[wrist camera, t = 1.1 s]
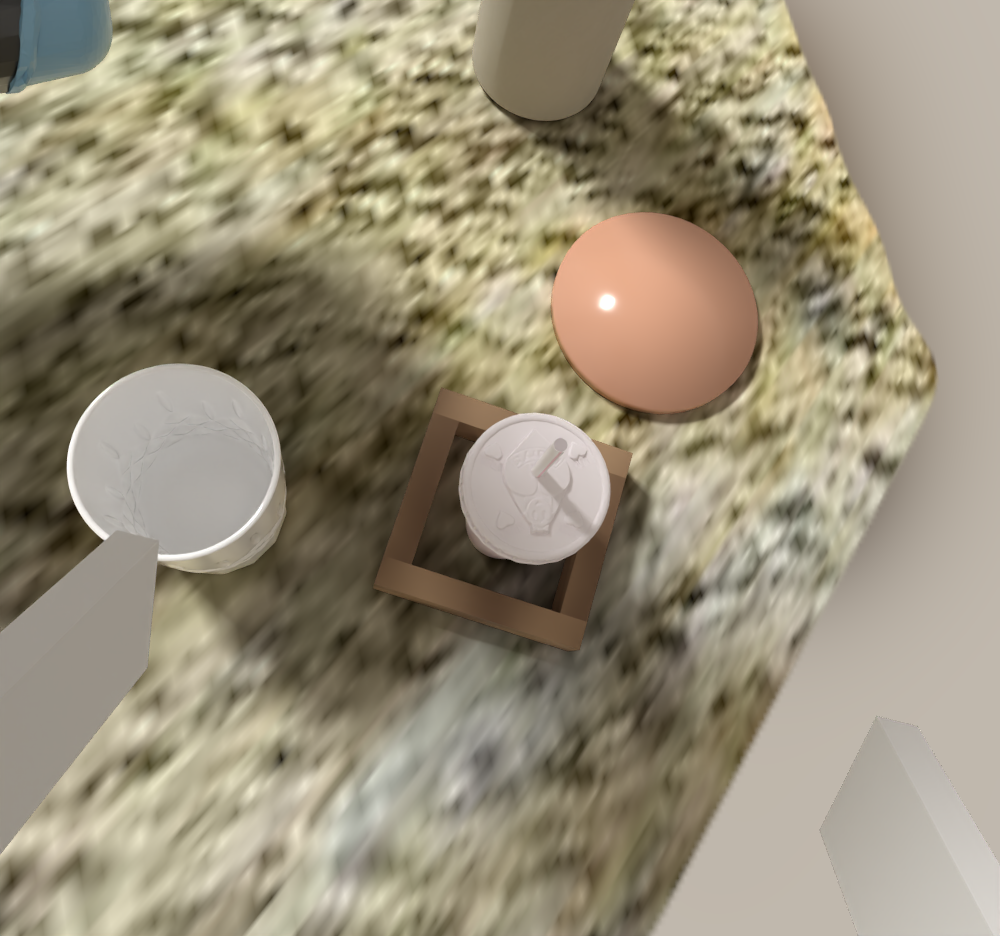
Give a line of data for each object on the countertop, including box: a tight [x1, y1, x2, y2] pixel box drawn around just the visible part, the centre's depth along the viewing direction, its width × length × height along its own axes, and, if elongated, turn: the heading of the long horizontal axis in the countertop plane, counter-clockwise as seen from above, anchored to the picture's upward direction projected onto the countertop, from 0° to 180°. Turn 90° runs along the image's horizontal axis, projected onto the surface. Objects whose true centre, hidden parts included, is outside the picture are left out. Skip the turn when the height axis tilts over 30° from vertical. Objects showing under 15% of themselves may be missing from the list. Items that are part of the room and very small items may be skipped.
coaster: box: [551, 212, 758, 414], centre depth 48 cm, size 12×12×1 cm
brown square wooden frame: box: [373, 387, 633, 651], centre depth 43 cm, size 10×10×2 cm
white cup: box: [67, 363, 286, 575], centre depth 38 cm, size 8×8×10 cm
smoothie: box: [459, 413, 610, 565], centre depth 38 cm, size 6×6×14 cm
